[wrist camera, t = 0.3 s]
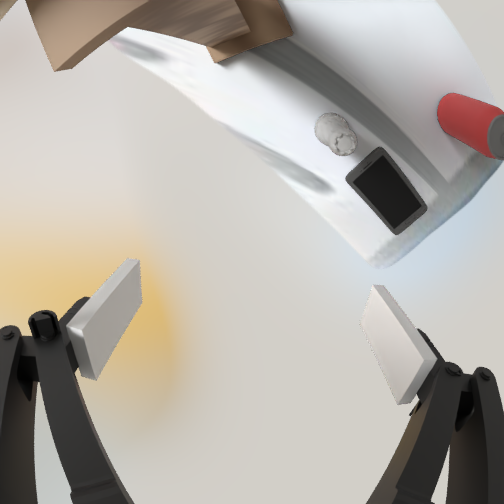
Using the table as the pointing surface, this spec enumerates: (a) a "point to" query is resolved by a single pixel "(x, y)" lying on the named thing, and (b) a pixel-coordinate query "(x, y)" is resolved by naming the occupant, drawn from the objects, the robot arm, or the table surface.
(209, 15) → the shelf stand
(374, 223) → the table surface
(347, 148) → the rook chess piece
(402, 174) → the cell phone
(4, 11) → the ash bar
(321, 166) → the table surface
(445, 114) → the beer can
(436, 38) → the table surface
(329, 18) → the table surface
